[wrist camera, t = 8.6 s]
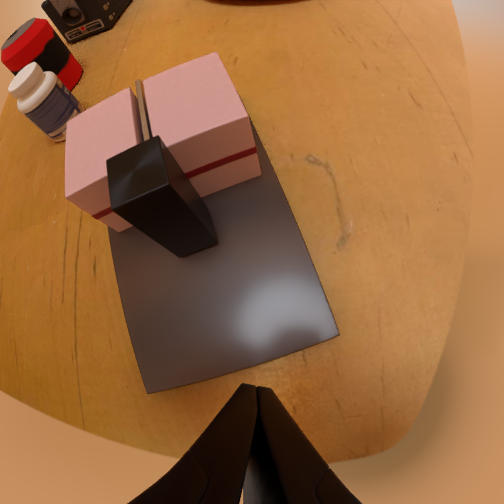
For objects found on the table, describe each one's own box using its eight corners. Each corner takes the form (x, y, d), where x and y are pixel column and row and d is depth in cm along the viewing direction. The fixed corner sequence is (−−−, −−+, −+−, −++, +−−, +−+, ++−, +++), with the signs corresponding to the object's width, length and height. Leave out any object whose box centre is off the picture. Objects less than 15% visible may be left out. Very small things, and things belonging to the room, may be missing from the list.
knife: (218, 243, 21) (169, 184, 12) (179, 258, 21) (110, 210, 12) (181, 119, 24) (142, 44, 16) (150, 133, 24) (102, 64, 16)
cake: (262, 175, 22) (249, 115, 15) (118, 233, 23) (64, 199, 16) (234, 110, 24) (217, 50, 17) (109, 164, 25) (66, 121, 18)
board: (338, 334, 20) (340, 334, 19) (152, 392, 20) (147, 394, 19) (238, 97, 26) (236, 90, 25) (104, 154, 26) (99, 149, 25)
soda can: (65, 66, 33) (26, 17, 22) (92, 66, 31) (51, 8, 20) (34, 104, 32) (-11, 58, 20) (58, 108, 30) (7, 52, 19)
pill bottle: (93, 109, 29) (49, 55, 19) (65, 147, 28) (13, 98, 18) (70, 104, 30) (29, 56, 20) (45, 138, 29) (-3, 95, 20)
